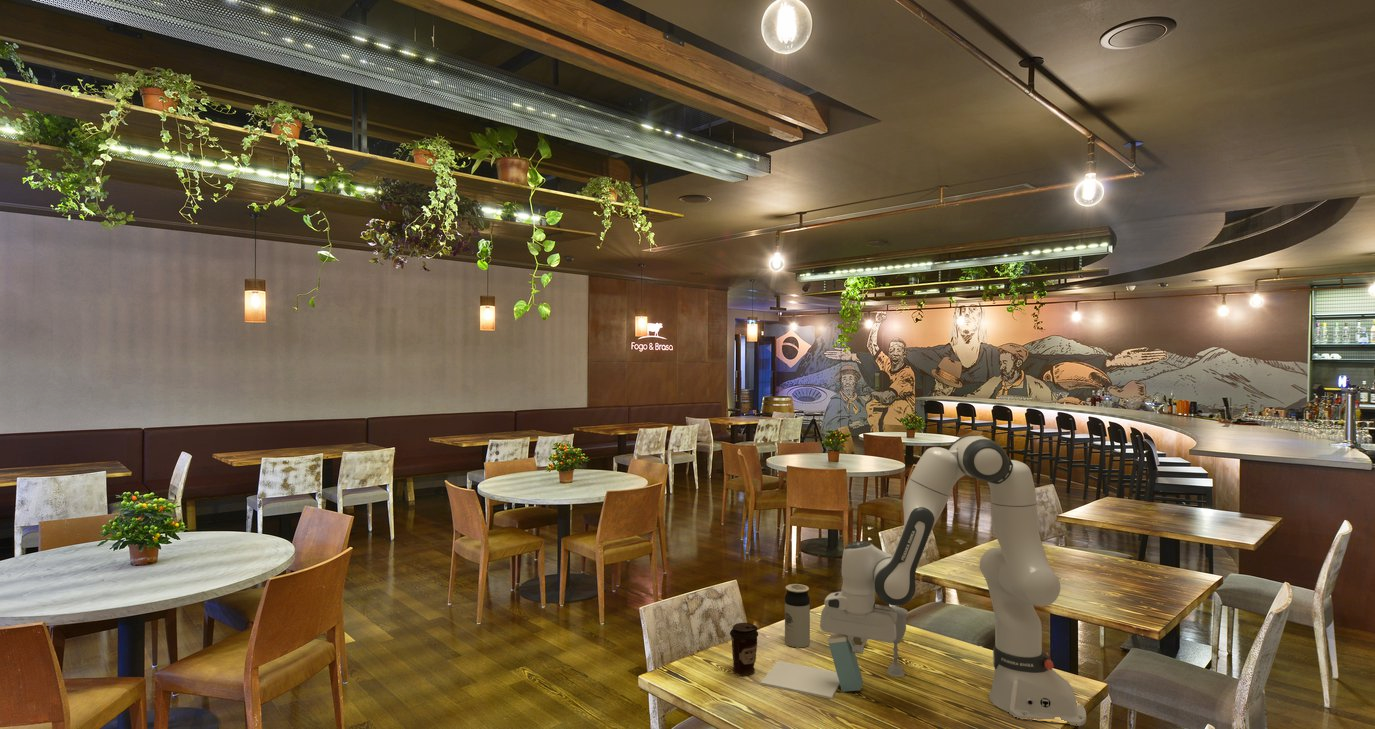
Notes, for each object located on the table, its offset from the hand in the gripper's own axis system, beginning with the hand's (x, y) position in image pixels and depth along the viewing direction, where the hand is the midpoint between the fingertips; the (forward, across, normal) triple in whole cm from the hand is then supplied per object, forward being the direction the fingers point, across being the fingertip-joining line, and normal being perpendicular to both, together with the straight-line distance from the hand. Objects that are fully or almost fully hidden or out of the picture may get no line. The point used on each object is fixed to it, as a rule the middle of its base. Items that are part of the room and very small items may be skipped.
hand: (857, 652), depth 186 cm
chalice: (+10, -8, -16) cm, 21 cm away
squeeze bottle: (+11, +7, -32) cm, 35 cm away
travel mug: (+11, +24, -25) cm, 37 cm away
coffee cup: (+11, +32, +2) cm, 34 cm away
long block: (+10, +1, 0) cm, 10 cm away
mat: (+11, +15, 0) cm, 19 cm away
